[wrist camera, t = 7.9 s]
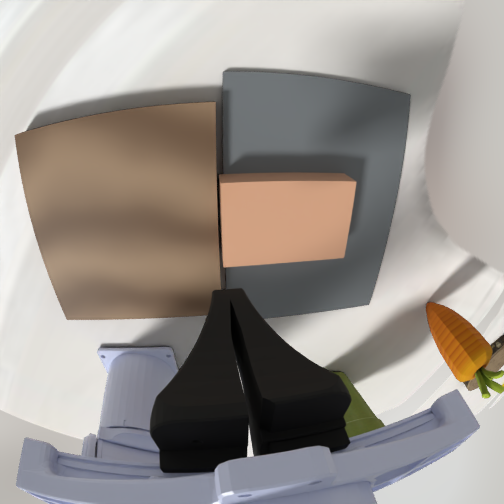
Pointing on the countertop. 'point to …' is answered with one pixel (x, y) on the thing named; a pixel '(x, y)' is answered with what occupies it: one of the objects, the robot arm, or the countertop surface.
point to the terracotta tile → (284, 217)
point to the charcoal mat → (317, 161)
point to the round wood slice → (491, 362)
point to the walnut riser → (127, 210)
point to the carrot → (462, 347)
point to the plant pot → (358, 412)
